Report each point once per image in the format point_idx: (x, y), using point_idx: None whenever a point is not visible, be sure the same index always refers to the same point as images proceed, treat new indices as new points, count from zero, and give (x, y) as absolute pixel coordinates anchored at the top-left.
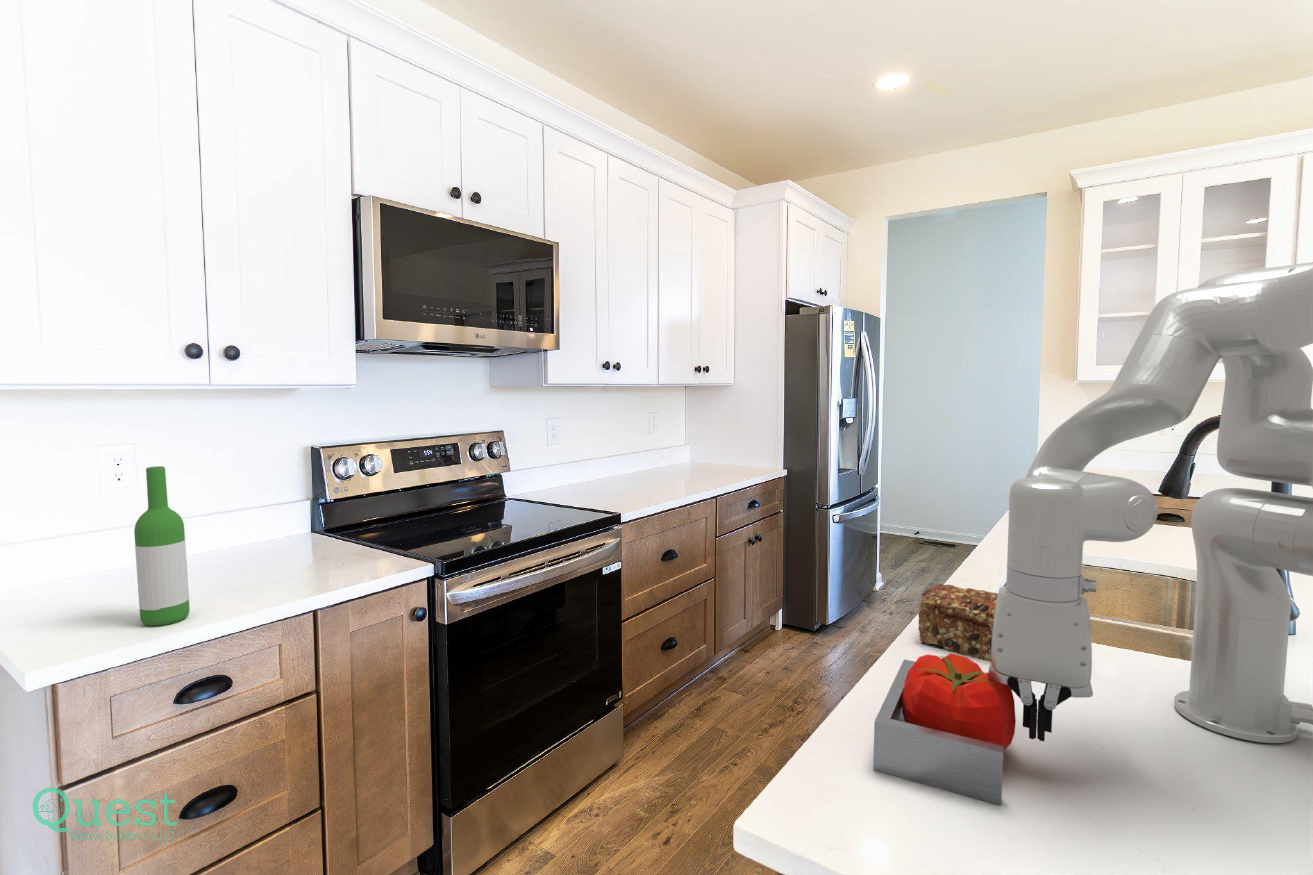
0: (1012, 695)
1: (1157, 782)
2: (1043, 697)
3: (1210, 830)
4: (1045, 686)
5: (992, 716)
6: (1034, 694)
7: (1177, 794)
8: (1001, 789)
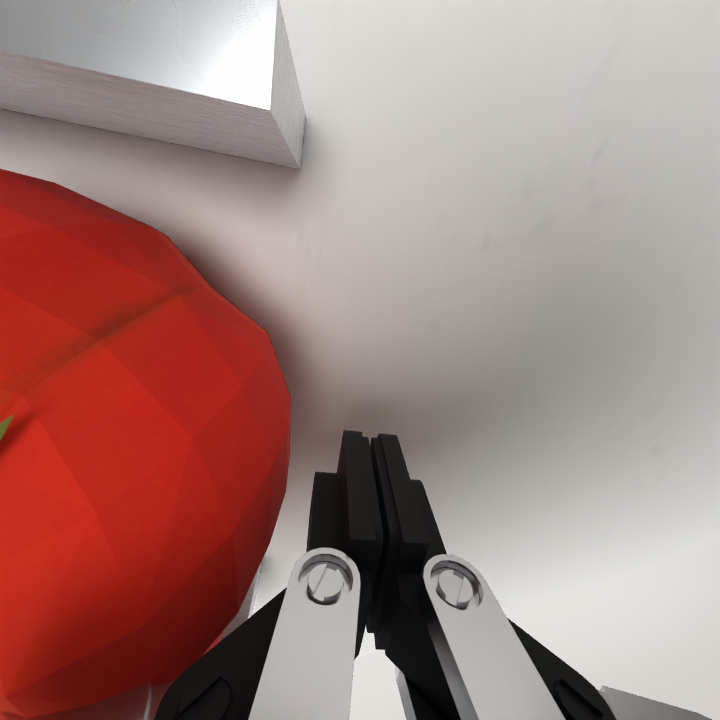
0: (240, 607)
1: (644, 366)
2: (408, 647)
3: (639, 506)
4: (446, 676)
5: None
6: (366, 609)
7: (659, 404)
8: (252, 609)
